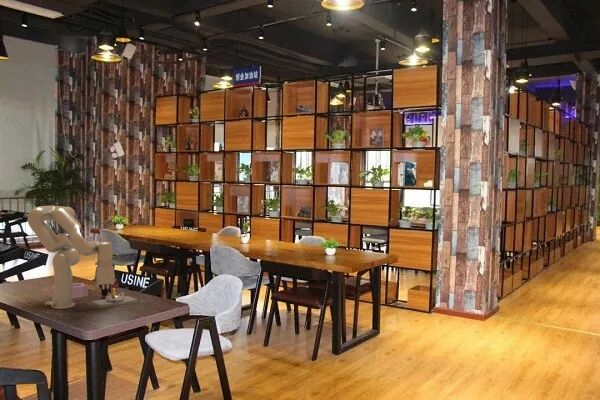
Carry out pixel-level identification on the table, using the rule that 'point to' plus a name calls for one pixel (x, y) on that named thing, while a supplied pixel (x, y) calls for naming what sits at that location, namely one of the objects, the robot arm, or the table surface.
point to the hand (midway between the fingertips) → (104, 295)
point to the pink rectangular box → (76, 290)
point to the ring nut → (114, 296)
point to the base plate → (104, 303)
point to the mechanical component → (112, 286)
